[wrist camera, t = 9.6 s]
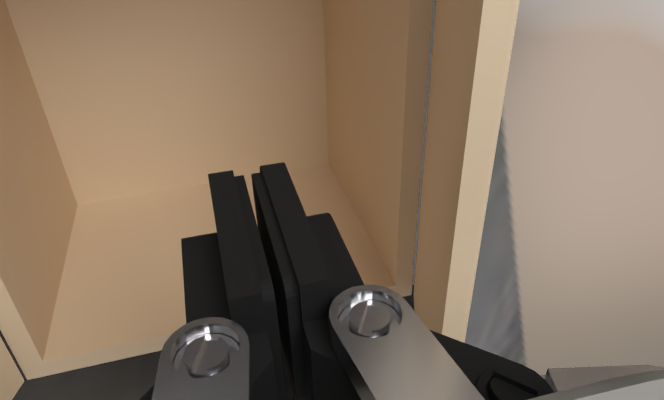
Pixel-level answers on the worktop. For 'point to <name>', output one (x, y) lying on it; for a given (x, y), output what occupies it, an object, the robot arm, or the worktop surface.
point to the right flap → (459, 154)
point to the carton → (190, 150)
